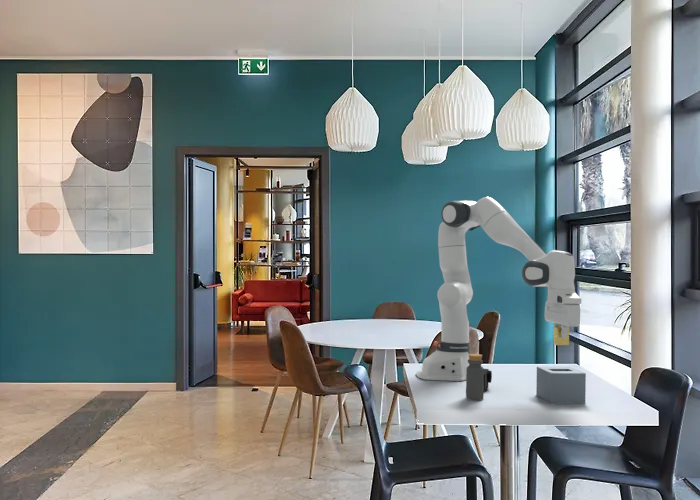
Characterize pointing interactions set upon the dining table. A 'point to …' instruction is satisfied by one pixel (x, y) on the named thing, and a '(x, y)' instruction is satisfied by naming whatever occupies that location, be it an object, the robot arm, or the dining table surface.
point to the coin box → (561, 384)
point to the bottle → (475, 378)
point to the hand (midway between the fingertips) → (561, 337)
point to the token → (558, 339)
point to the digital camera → (487, 378)
